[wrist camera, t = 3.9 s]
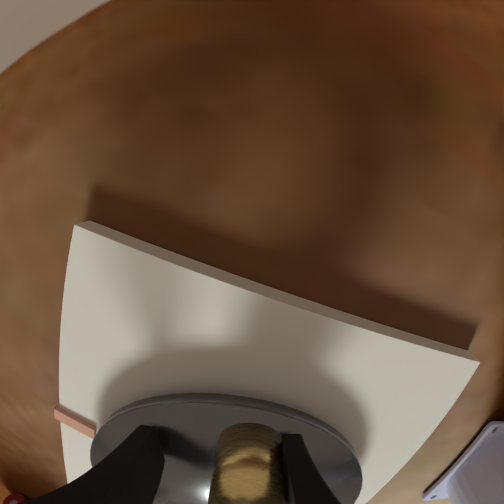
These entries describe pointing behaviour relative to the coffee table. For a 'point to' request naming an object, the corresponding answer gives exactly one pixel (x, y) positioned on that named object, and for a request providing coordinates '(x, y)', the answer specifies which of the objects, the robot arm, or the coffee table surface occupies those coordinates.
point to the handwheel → (230, 448)
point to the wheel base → (238, 353)
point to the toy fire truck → (15, 499)
